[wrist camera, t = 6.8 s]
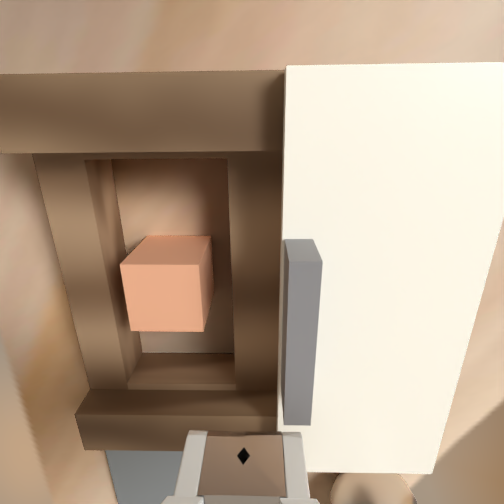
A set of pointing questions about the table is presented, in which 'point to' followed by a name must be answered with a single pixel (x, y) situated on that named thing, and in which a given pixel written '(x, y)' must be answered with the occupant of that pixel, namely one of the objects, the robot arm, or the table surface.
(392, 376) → the lid
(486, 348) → the table surface
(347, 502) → the plastic bottle
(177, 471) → the coaster
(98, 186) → the wooden box
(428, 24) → the table surface
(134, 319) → the block
